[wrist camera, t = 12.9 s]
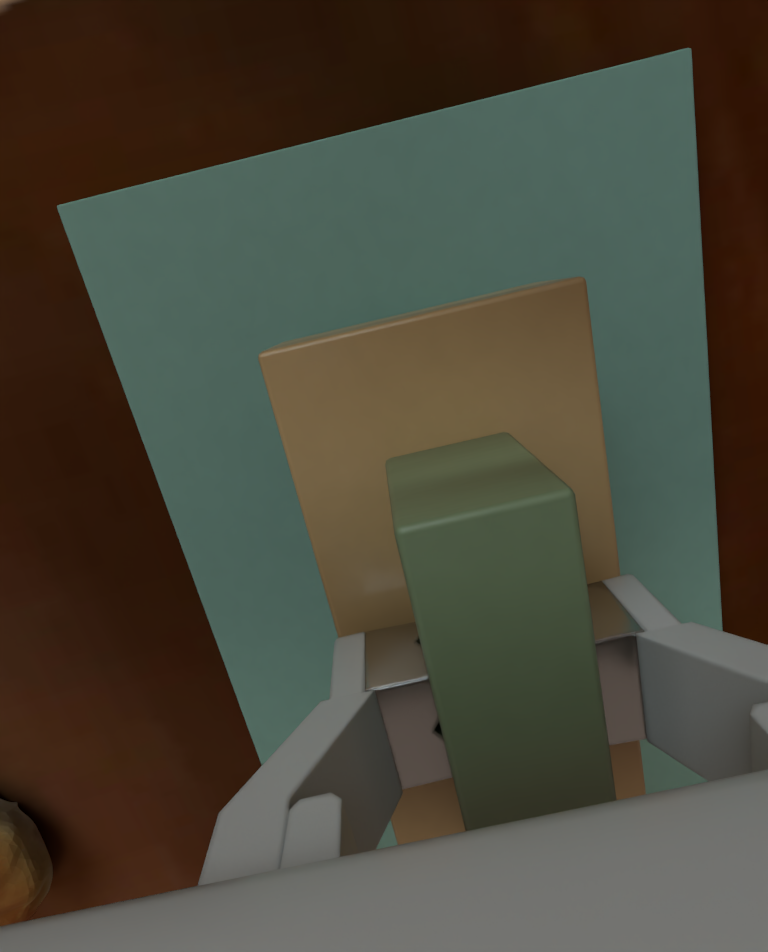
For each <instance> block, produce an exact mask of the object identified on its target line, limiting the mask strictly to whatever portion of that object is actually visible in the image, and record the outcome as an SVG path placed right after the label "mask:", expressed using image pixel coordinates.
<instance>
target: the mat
mask: <svg viewBox="0 0 768 952" xmlns="http://www.w3.org/2000/svg"><path fill="white" fill-rule="evenodd" d="M57 209H58V212H59V214H60V217H61V220H62V223H63V225H64V228H65V231H66V233H67V236H68V239H69V242H70V244H71V247H72V250H73V253H74V255H75V258H76V261H77V263H78V266H79V269H80V272H81V274H82V277H83V280H84V283H85V285H86V288H87V291H88V293H89V296H90V299H91V302H92V304H93V307H94V310H95V312H96V315H97V318H98V321H99V323H100V326H101V329H102V332H103V334H104V337H105V340H106V342H107V345H108V348H109V351H110V353H111V356H112V359H113V362H114V364H115V367H116V370H117V372H118V375H119V378H120V381H121V383H122V386H123V389H124V391H125V394H126V397H127V400H128V402H129V405H130V408H131V411H132V413H133V416H134V419H135V421H136V424H137V427H138V430H139V432H140V435H141V438H142V441H143V443H144V446H145V449H146V451H147V454H148V457H149V460H150V462H151V465H152V468H153V471H154V473H155V476H156V479H157V481H158V484H159V487H160V490H161V492H162V495H163V498H164V500H165V503H166V506H167V509H168V511H169V514H170V517H171V520H172V522H173V525H174V528H175V530H176V533H177V536H178V539H179V541H180V544H181V547H182V550H183V552H184V555H185V558H186V560H187V563H188V566H189V569H190V571H191V574H192V577H193V580H194V582H195V585H196V588H197V590H198V593H199V596H200V599H201V601H202V604H203V607H204V609H205V612H206V615H207V618H208V620H209V623H210V626H211V629H212V631H213V634H214V637H215V639H216V642H217V645H218V648H219V650H220V653H221V656H222V659H223V661H224V664H225V667H226V669H227V672H228V675H229V678H230V680H231V683H232V686H233V689H234V691H235V694H236V697H237V699H238V702H239V705H240V708H241V710H242V713H243V716H244V718H245V721H246V724H247V727H248V729H249V732H250V735H251V738H252V740H253V743H254V746H255V748H256V751H257V754H258V757H259V759H260V762H261V765H263V764H264V763H265V762H266V761H267V760H268V759H269V757H270V756H271V755H272V754H273V753H274V752H275V751H276V750H277V749H278V748H279V747H280V745H281V744H282V743H283V742H284V741H285V740H286V739H287V738H288V737H289V736H290V734H291V733H292V732H293V731H294V730H295V729H296V728H297V727H298V726H299V725H300V723H301V722H302V721H303V720H304V719H305V718H306V717H307V716H308V715H309V714H310V713H311V711H312V710H313V709H314V708H315V707H316V706H317V705H318V704H319V703H320V702H321V701H324V700H328V699H329V697H330V686H331V675H332V663H333V652H334V642H335V640H336V639H337V638H338V635H337V632H336V628H335V625H334V621H333V618H332V614H331V611H330V607H329V604H328V600H327V597H326V593H325V590H324V587H323V583H322V580H321V576H320V573H319V569H318V566H317V562H316V559H315V555H314V552H313V548H312V545H311V541H310V538H309V534H308V531H307V527H306V524H305V520H304V517H303V513H302V510H301V507H300V503H299V500H298V496H297V493H296V489H295V486H294V482H293V479H292V475H291V472H290V468H289V465H288V461H287V458H286V454H285V451H284V447H283V444H282V440H281V437H280V434H279V430H278V427H277V423H276V420H275V416H274V413H273V409H272V406H271V402H270V399H269V395H268V392H267V388H266V385H265V381H264V378H263V374H262V371H261V367H260V364H259V361H258V356H259V354H260V353H261V352H262V351H264V350H267V349H269V348H271V347H273V346H275V345H278V344H280V343H282V342H285V341H289V340H293V339H298V338H302V337H306V336H310V335H314V334H319V333H323V332H327V331H331V330H336V329H340V328H344V327H348V326H352V325H357V324H361V323H365V322H369V321H374V320H378V319H382V318H386V317H390V316H395V315H399V314H403V313H407V312H412V311H416V310H420V309H424V308H428V307H433V306H437V305H441V304H445V303H450V302H454V301H458V300H462V299H466V298H471V297H475V296H479V295H483V294H488V293H492V292H496V291H500V290H504V289H509V288H513V287H517V286H521V285H526V284H530V283H534V282H541V281H549V280H556V279H564V278H571V277H584V278H585V280H586V284H587V292H588V301H589V310H590V318H591V327H592V335H593V344H594V352H595V361H596V370H597V378H598V387H599V395H600V404H601V413H602V421H603V430H604V438H605V447H606V455H607V464H608V473H609V481H610V490H611V498H612V507H613V516H614V524H615V533H616V541H617V550H618V558H619V567H620V576H621V575H625V574H631V575H634V576H635V577H636V578H637V579H638V580H639V581H640V582H641V583H642V584H643V585H644V586H645V587H646V588H647V589H648V590H649V591H650V592H651V593H652V594H653V595H654V596H655V597H656V598H657V599H658V600H659V601H660V602H661V603H662V604H663V605H664V606H665V607H666V608H667V609H668V610H669V611H670V612H671V613H672V614H673V615H674V616H675V617H676V618H677V619H678V620H679V621H680V622H681V623H682V624H683V623H688V622H694V623H697V624H700V625H704V626H707V627H710V628H713V629H717V630H720V631H723V630H722V612H721V593H720V575H719V556H718V537H717V519H716V500H715V481H714V463H713V444H712V425H711V407H710V388H709V369H708V351H707V332H706V314H705V295H704V276H703V258H702V239H701V220H700V202H699V183H698V164H697V146H696V127H695V108H694V90H693V71H692V53H691V48H686V49H682V50H678V51H674V52H670V53H666V54H662V55H658V56H654V57H650V58H646V59H642V60H638V61H634V62H630V63H626V64H622V65H618V66H614V67H610V68H606V69H602V70H598V71H594V72H590V73H586V74H582V75H578V76H574V77H570V78H566V79H562V80H558V81H554V82H550V83H546V84H541V85H537V86H533V87H529V88H525V89H521V90H517V91H513V92H509V93H505V94H501V95H497V96H493V97H489V98H485V99H481V100H477V101H473V102H469V103H465V104H461V105H457V106H453V107H449V108H445V109H441V110H437V111H433V112H429V113H425V114H421V115H417V116H413V117H409V118H405V119H401V120H397V121H393V122H389V123H385V124H381V125H377V126H373V127H369V128H365V129H361V130H357V131H353V132H349V133H345V134H341V135H337V136H333V137H329V138H325V139H321V140H317V141H313V142H309V143H305V144H301V145H297V146H293V147H289V148H285V149H281V150H277V151H273V152H269V153H265V154H261V155H257V156H253V157H249V158H245V159H241V160H237V161H233V162H229V163H225V164H221V165H217V166H213V167H209V168H205V169H201V170H197V171H193V172H189V173H185V174H181V175H177V176H173V177H169V178H165V179H161V180H157V181H153V182H149V183H145V184H141V185H137V186H133V187H129V188H125V189H121V190H117V191H113V192H109V193H105V194H101V195H97V196H93V197H89V198H85V199H81V200H77V201H73V202H69V203H65V204H61V205H58V206H57ZM640 747H641V756H642V764H643V773H644V782H645V790H646V794H650V793H655V792H660V791H664V790H669V789H674V788H679V787H684V786H689V785H694V784H699V783H704V782H708V781H707V780H706V779H704V778H703V777H701V776H700V775H698V774H697V773H695V772H693V771H692V770H690V769H689V768H687V767H686V766H684V765H683V764H681V763H680V762H678V761H677V760H675V759H674V758H672V757H670V756H669V755H667V754H666V753H664V752H663V751H661V750H660V749H658V748H657V747H655V746H654V745H652V744H650V743H649V742H647V739H643V740H640ZM396 845H398V844H397V840H396V837H395V833H394V830H393V826H392V823H391V819H390V821H389V823H388V825H387V827H386V829H385V831H384V833H383V836H382V838H381V840H380V842H379V844H378V846H377V848H376V849H381V848H386V847H391V846H396Z"/></svg>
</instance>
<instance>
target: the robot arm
mask: <svg viewBox="0 0 768 952" xmlns="http://www.w3.org/2000/svg"><path fill="white" fill-rule="evenodd" d="M587 586H588V593H589V601H590V608H591V615H592V623H593V630H594V637H595V645H596V652H597V659H598V667H599V674H600V681H601V689H602V696H603V704H604V711H605V718H606V726H607V733H608V740H609V745H615V744H620V743H626V742H632V741H637V740H643V739H647V742H649V743H650V744H652V745H654V746H655V747H657V748H658V749H660V750H661V751H663V752H664V753H666V754H667V755H669V756H670V757H672V758H674V759H675V760H677V761H678V762H680V763H681V764H683V765H684V766H686V767H687V768H689V769H690V770H692V771H693V772H695V773H697V774H698V775H700V776H701V777H703V778H704V779H706V780H707V781H708V782H704V783H699V784H694V785H689V786H684V787H679V788H674V789H669V790H664V791H660V792H655V793H650V794H645V795H640V796H635V797H631V798H626V799H621V800H616V801H611V802H606V803H601V804H596V805H591V806H586V807H582V808H577V809H572V810H567V811H562V812H557V813H552V814H547V815H542V816H538V817H533V818H528V819H523V820H518V821H513V822H508V823H503V824H498V825H493V826H489V827H484V828H479V829H474V830H469V831H464V832H459V833H454V834H449V835H444V836H440V837H435V838H430V839H425V840H420V841H415V842H410V843H405V844H400V845H396V846H391V847H386V848H381V849H376V848H377V846H378V844H379V842H380V840H381V838H382V836H383V833H384V831H385V829H386V827H387V825H388V823H389V821H390V819H391V817H392V815H393V813H394V810H395V808H396V806H397V804H398V802H399V800H400V798H401V796H402V794H403V791H402V790H403V789H407V788H411V787H415V786H419V785H424V784H428V783H432V782H436V781H440V780H445V779H449V778H453V777H452V772H451V768H450V764H449V760H448V756H447V752H446V747H445V743H444V739H443V735H442V731H441V727H440V722H439V718H438V714H437V710H436V706H435V702H434V697H433V693H432V689H431V685H430V681H429V677H428V672H427V668H426V664H425V660H424V656H423V652H422V647H421V643H420V639H419V635H418V631H417V626H416V622H412V623H407V624H402V625H397V626H392V627H386V628H381V629H376V630H371V631H366V633H365V632H360V633H356V634H351V635H347V636H343V637H339V638H337V639H336V640H335V642H334V652H333V663H332V675H331V686H330V697H329V699H328V700H324V701H321V702H320V703H319V704H318V705H317V706H316V707H315V708H314V709H313V710H312V711H311V713H310V714H309V715H308V716H307V717H306V718H305V719H304V720H303V721H302V722H301V723H300V725H299V726H298V727H297V728H296V729H295V730H294V731H293V732H292V733H291V734H290V736H289V737H288V738H287V739H286V740H285V741H284V742H283V743H282V744H281V745H280V747H279V748H278V749H277V750H276V751H275V752H274V753H273V754H272V755H271V756H270V757H269V759H268V760H267V761H266V762H265V763H264V764H263V765H262V766H261V767H260V768H259V770H258V771H257V772H256V773H255V774H254V775H253V776H252V777H251V778H250V779H249V780H248V782H247V783H246V784H245V785H244V786H243V787H242V788H241V789H240V790H239V791H238V793H237V794H236V795H235V796H234V797H233V798H232V799H231V800H230V801H229V802H228V803H227V805H226V806H225V807H224V808H223V809H222V810H221V811H220V812H219V814H218V817H217V821H216V824H215V828H214V831H213V834H212V838H211V841H210V845H209V848H208V852H207V855H206V859H205V862H204V866H203V869H202V873H201V876H200V880H199V883H198V886H195V887H190V888H185V889H180V890H175V891H170V892H165V893H160V894H156V895H151V896H146V897H141V898H136V899H131V900H126V901H121V902H116V903H112V904H107V905H102V906H97V907H92V908H87V909H82V910H77V911H72V912H67V913H63V914H58V915H53V916H48V917H43V918H38V919H33V920H28V921H23V922H19V923H14V924H9V925H4V926H0V952H768V645H766V644H762V643H759V642H756V641H753V640H749V639H746V638H743V637H739V636H736V635H733V634H730V633H726V632H723V631H720V630H717V629H713V628H710V627H707V626H704V625H700V624H697V623H694V622H688V623H683V624H682V623H681V622H680V621H679V620H678V619H677V618H676V617H675V616H674V615H673V614H672V613H671V612H670V611H669V610H668V609H667V608H666V607H665V606H664V605H663V604H662V603H661V602H660V601H659V600H658V599H657V598H656V597H655V596H654V595H653V594H652V593H651V592H650V591H649V590H648V589H647V588H646V587H645V586H644V585H643V584H642V583H641V582H640V581H639V580H638V579H637V578H636V577H635V576H634V575H631V574H625V575H621V576H617V577H613V578H610V579H606V580H602V581H598V582H594V583H590V584H587Z"/></svg>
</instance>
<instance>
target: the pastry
mask: <svg viewBox="0 0 768 952" xmlns="http://www.w3.org/2000/svg"><path fill="white" fill-rule="evenodd" d="M17 803H18V802H8V801H5V800H2V799H0V926H4V925H9V924H14V923H19V922H23V921H27V920H28V919H29V918H30V917H31V916H32V915H33V914H35V912H36V910H37V908H38V907H39V905H40V903H41V902H42V901H43V899H44V898H45V896H46V895H47V893H48V892H49V890H50V885H51V882H52V877H53V865H52V862H51V858H50V855H49V853H48V850H47V848H46V845H45V843H44V841H43V839H42V837H41V835H40V833H39V831H38V829H37V827H36V825H35V824H34V822H33V821H32V820H31V819H30V818H29V817H28V816H27V815H26V814H24V813H23V812H22V811H21V810H20V809H19V808H18V806H17Z"/></svg>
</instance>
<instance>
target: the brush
mask: <svg viewBox="0 0 768 952" xmlns="http://www.w3.org/2000/svg"><path fill="white" fill-rule="evenodd" d="M258 361H259V364H260V367H261V371H262V374H263V378H264V381H265V385H266V388H267V392H268V395H269V399H270V402H271V406H272V409H273V413H274V416H275V420H276V423H277V427H278V430H279V434H280V437H281V440H282V444H283V447H284V451H285V454H286V458H287V461H288V465H289V468H290V472H291V475H292V479H293V482H294V486H295V489H296V493H297V496H298V500H299V503H300V507H301V510H302V513H303V517H304V520H305V524H306V527H307V531H308V534H309V538H310V541H311V545H312V548H313V552H314V555H315V559H316V562H317V566H318V569H319V573H320V576H321V580H322V583H323V587H324V590H325V593H326V597H327V600H328V604H329V607H330V611H331V614H332V618H333V621H334V625H335V628H336V632H337V635H338V638H339V637H343V636H347V635H351V634H356V633H360V632H365V633H366V631H371V630H376V629H381V628H386V627H392V626H397V625H402V624H407V623H412V622H416V626H417V631H418V635H419V639H420V643H421V647H422V652H423V656H424V660H425V664H426V668H427V672H428V677H429V681H430V685H431V689H432V693H433V697H434V702H435V706H436V710H437V714H438V718H439V722H440V727H441V731H442V735H443V739H444V743H445V747H446V752H447V756H448V760H449V764H450V768H451V772H452V777H453V778H449V779H445V780H440V781H436V782H432V783H428V784H424V785H419V786H415V787H411V788H407V789H403V790H402V791H403V794H402V796H401V798H400V800H399V802H398V804H397V806H396V808H395V810H394V813H393V815H392V817H391V823H392V826H393V830H394V833H395V837H396V840H397V844H398V845H400V844H405V843H410V842H415V841H420V840H425V839H430V838H435V837H440V836H444V835H449V834H454V833H459V832H464V831H469V830H474V829H479V828H484V827H489V826H493V825H498V824H503V823H508V822H513V821H518V820H523V819H528V818H533V817H538V816H542V815H547V814H552V813H557V812H562V811H567V810H572V809H577V808H582V807H586V806H591V805H596V804H601V803H606V802H611V801H616V800H621V799H626V798H631V797H635V796H640V795H645V794H646V790H645V782H644V773H643V764H642V756H641V747H640V740H637V741H632V742H626V743H620V744H615V745H609V740H608V733H607V726H606V718H605V711H604V704H603V696H602V689H601V681H600V674H599V667H598V659H597V652H596V645H595V637H594V630H593V623H592V615H591V608H590V601H589V593H588V586H587V584H590V583H594V582H598V581H602V580H606V579H610V578H613V577H617V576H620V567H619V558H618V550H617V541H616V533H615V524H614V516H613V507H612V498H611V490H610V481H609V473H608V464H607V455H606V447H605V438H604V430H603V421H602V413H601V404H600V395H599V387H598V378H597V370H596V361H595V352H594V344H593V335H592V327H591V318H590V310H589V301H588V292H587V284H586V280H585V278H584V277H571V278H564V279H556V280H549V281H541V282H534V283H530V284H526V285H521V286H517V287H513V288H509V289H504V290H500V291H496V292H492V293H488V294H483V295H479V296H475V297H471V298H466V299H462V300H458V301H454V302H450V303H445V304H441V305H437V306H433V307H428V308H424V309H420V310H416V311H412V312H407V313H403V314H399V315H395V316H390V317H386V318H382V319H378V320H374V321H369V322H365V323H361V324H357V325H352V326H348V327H344V328H340V329H336V330H331V331H327V332H323V333H319V334H314V335H310V336H306V337H302V338H298V339H293V340H289V341H285V342H282V343H280V344H278V345H275V346H273V347H271V348H269V349H267V350H264V351H262V352H261V353H260V354H259V356H258Z"/></svg>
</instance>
